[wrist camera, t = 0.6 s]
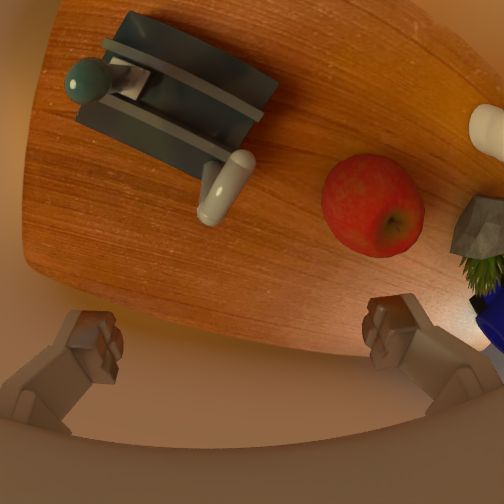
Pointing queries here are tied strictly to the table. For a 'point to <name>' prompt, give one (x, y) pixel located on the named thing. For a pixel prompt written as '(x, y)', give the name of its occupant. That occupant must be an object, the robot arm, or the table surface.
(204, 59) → the tap base
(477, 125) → the water bottle
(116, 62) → the tap handle
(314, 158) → the table surface
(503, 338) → the alarm clock
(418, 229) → the apple
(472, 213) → the potted plant
